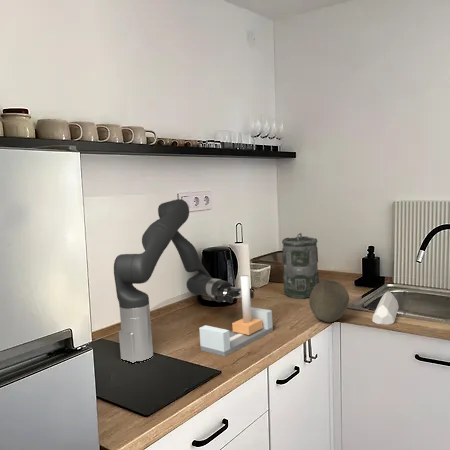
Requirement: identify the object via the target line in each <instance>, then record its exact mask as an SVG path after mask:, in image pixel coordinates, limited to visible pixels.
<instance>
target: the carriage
mask: <svg viewBox="0 0 450 450" xmlns="http://www.w3.org/2000/svg"><path fill="white" fill-rule="evenodd" d="M250 285H251V283H250V275H248V274H247V275H245V274H244V275H240V288H241V294H242V298H241V309H242V318H240V319H239V320H236V321H234V322H232V323H231V324H232V325H231V326H232V331H233V332H237V333H242V334H247V335H250V334H252V333H254V332H256V331H258V330H260V329H262V328H263V326H262V320H260V319H255V318H251V307H252V303H251V298H250V288H251V286H250Z"/></svg>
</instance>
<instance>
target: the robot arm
mask: <svg viewBox="0 0 450 450" xmlns="http://www.w3.org/2000/svg"><path fill="white" fill-rule="evenodd" d="M157 214H158V219H156V220H155V221H154V222H152V223H151V224H150V225H149V226H148V227H147V229H145V231H144V233H143V234H142V236H141V244H142V248H143V250H144V251H143V252H141V253H124V254H123V253H122V254H118V255H117V256H116V258H115V259H114V263H113V276H114V284H115V289H116V290H115V292H116V297H117V298H116V299H117V302H118V304H119V305H118V306H119V317H120V318H119V319H120V330H118V338H119V339H118V340H119V350H120V360H121V359H123V360H127V361H130V362H132V363H134V362H136V361H143V360H146V359H149V358H151V357H152V356H153V357H154V348H153V336H152V335H153V334H152V324H151V310H150V299H149V294H148V293H146V292H145V291H142V290H139V289H138V288H137V287H135V286H134V284H135V285H136V284H137V285H138V284H141V285H142V284H145V283H147V282H148V281H149V280H150V279H151V277H152V275H153V273H154V271H155V268H156V266H157V264H158V262H159V260H160V258H161V257H162V255H163V253H164V252H165V250H166V249H167V248H168V246H169V244H170V243H171V241H172V243H173V245H174V248H175V249H176V250H177V253H178V255H179V258H180V260H181V263H182V265H183V268H184V271H185V272H187V273H194V272H197V274H194V275H193V276H191V277H189V278H188V279H187V281H186V288H187V290H188V292H190V293H191V294H193V295H197V296H203V295H207V296H209V297H211V300H213V301H215V302H217V303H222V302H223V303H224V302H226V303H229V304H232V303H234V299H235V298H239V299H242V294H241V287H236V286H234V285H232V283H231V282H230V281H226V280H224V279H223V280H222V279H220V278H214V277H212V276H211V274H210V273H209V272H208V271H207V269H206V268H205V267H204V265H203V263H202V261H201V259H200V255H199V253H198V250H197V248H196V247H195V246H194V245H193V243H191V242H190V241H189V240H188V238H186V237H185V236H184V235H182V234H181V232H180V231H179V229H180V228H181V227H182V226H183V225H184V224H185V223H186V222H187V221H188V219H189V216H190V206H189V205H188V202H187V201H185V200H184V199H181V198H179V199H172V200H170V201H165V202H162V203H160V204H159V205H158V208H157ZM252 289H253V288H251V287H250V300H251V299H254V298H255V296H254V292H253V291H252ZM153 357H152V358H153ZM152 358H151V359H152ZM149 360H150V359H149Z"/></svg>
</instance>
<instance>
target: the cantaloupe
mask: <svg viewBox="0 0 450 450" xmlns="http://www.w3.org/2000/svg"><path fill="white" fill-rule="evenodd" d="M349 302H350V294H349V292H348V290H347V289H346V287H345V286H344V284H341V283H340V282H339V281H335V280H322V281H319V283H318V284H316V285H315V287H314V288H313V290H312V292H311V294H310V297H309V308H310V310H311V313H312V314H313V316H314V317H315V318H316V319H318V320H319V321H323V322H324V323H333V322H336V321H337V320H339V319H340V318H341V317H342V316H344V314H345V312H346V311H347V309H348V306H349Z"/></svg>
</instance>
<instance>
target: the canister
mask: <svg viewBox="0 0 450 450" xmlns="http://www.w3.org/2000/svg"><path fill="white" fill-rule="evenodd" d="M281 243H282V264H283V275H282V276H283V290H284V292H283V293H284V295H286V296H288V297H290V298H293V299H299V300H300V299H306V298H310V294H311V292H312V290H313V288H314V287H315V285H316V284H318V283H319V282H320V275H319V273H320V272H319V271H318V266H319V265H318V263H319V255H318V254H319V253H318V252H319V250H318V249H319V248H318V246H317V245H318V239H317V238H316V237H315V238H314V237H309V236H303V235H302V232H300V233H298V234H297V235H296V237H285V238H284V239H282V240H281Z"/></svg>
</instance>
